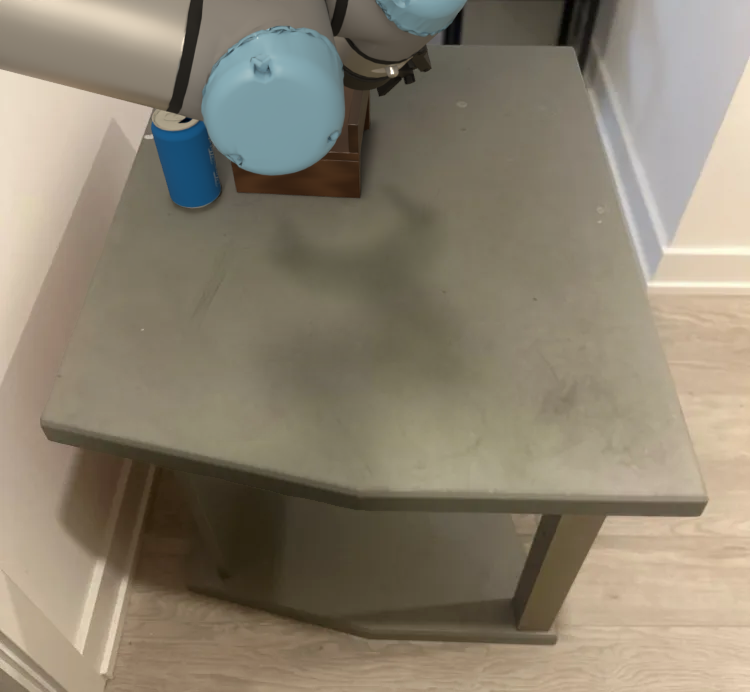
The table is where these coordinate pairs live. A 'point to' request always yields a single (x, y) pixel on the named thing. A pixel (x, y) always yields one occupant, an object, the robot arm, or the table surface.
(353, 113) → the brown wooden box
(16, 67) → the robot arm
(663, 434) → the table surface
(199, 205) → the beverage can
